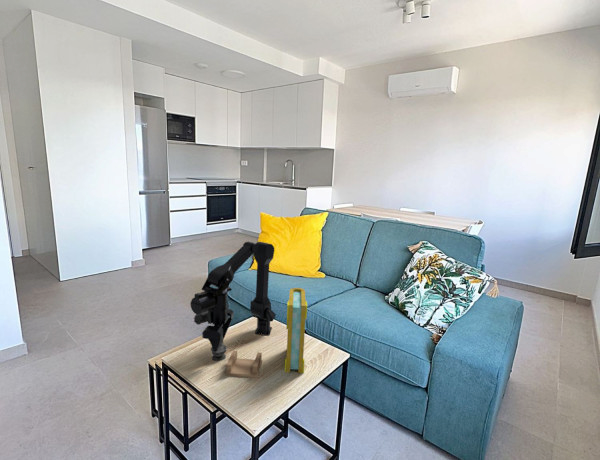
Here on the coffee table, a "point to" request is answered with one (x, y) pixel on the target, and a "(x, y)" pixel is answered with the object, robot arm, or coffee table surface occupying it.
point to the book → (296, 330)
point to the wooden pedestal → (243, 366)
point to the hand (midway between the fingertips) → (218, 344)
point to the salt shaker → (219, 352)
